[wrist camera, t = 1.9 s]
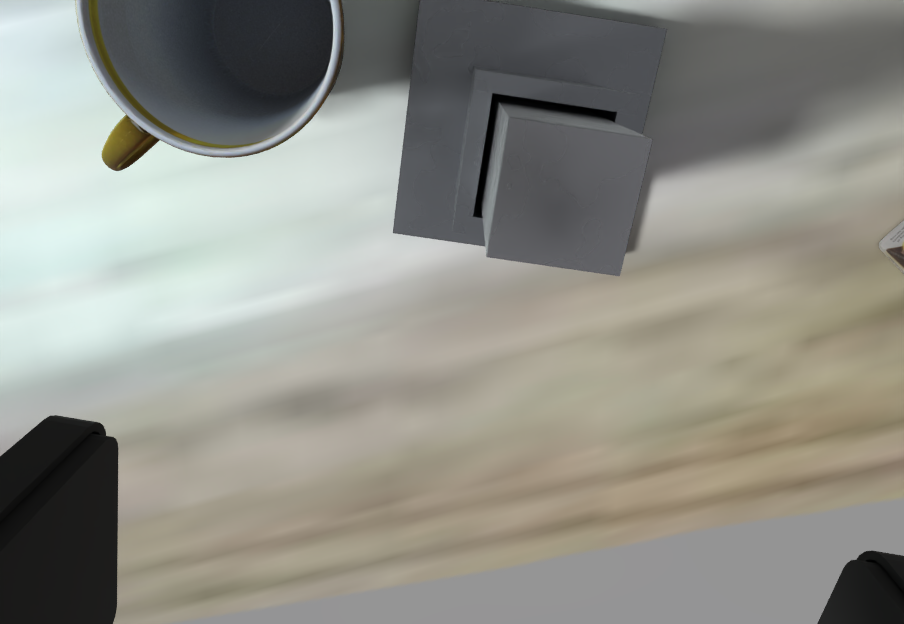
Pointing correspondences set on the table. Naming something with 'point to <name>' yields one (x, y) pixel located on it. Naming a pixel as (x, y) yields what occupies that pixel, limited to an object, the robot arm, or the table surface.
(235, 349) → the table surface
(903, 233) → the coffee box
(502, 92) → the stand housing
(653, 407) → the table surface
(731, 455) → the table surface
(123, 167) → the ceramic cup
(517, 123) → the steel post
